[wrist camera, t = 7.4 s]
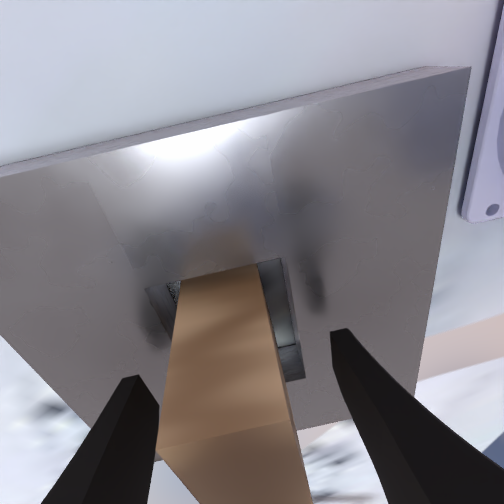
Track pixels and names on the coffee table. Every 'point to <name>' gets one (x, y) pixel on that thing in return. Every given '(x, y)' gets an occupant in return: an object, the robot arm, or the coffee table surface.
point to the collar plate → (236, 235)
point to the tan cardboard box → (229, 397)
